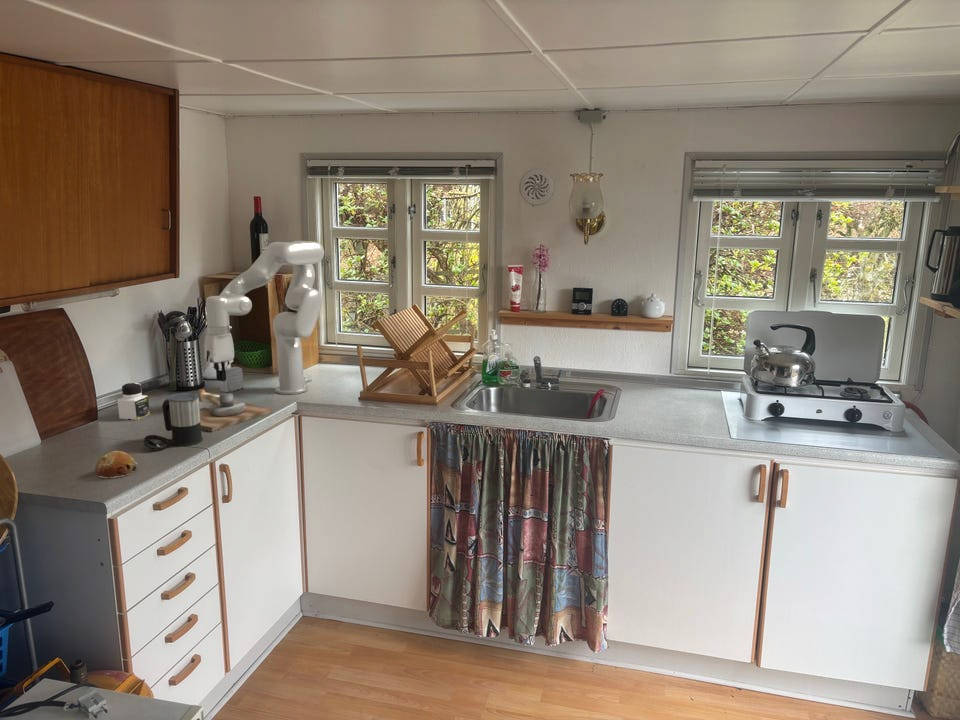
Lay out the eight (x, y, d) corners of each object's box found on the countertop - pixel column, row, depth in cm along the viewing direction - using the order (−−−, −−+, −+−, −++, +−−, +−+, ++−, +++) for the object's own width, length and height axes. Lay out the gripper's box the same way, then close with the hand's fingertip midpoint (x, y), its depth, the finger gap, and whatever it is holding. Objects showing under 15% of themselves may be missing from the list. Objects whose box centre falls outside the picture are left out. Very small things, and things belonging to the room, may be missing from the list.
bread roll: (123, 477, 209) (110, 452, 209) (148, 466, 206) (135, 440, 205) (96, 490, 200) (83, 464, 200) (122, 478, 197) (108, 452, 196)
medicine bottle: (137, 420, 252) (133, 386, 249) (119, 419, 253) (115, 385, 251) (150, 414, 259) (146, 381, 256) (132, 413, 260) (128, 381, 257)
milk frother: (209, 438, 233) (205, 393, 229) (179, 454, 217) (174, 406, 214) (170, 435, 235) (165, 391, 232) (137, 451, 220) (132, 404, 217)
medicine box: (237, 387, 296) (235, 366, 294) (244, 388, 294) (242, 367, 292) (220, 391, 290) (218, 370, 288) (227, 392, 288) (225, 371, 286)
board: (229, 404, 271) (229, 399, 271) (271, 412, 260) (271, 407, 260) (168, 422, 250) (168, 417, 249) (211, 431, 238) (211, 426, 238)
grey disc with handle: (252, 409, 258) (251, 393, 256) (225, 418, 248) (223, 401, 246) (214, 401, 268) (213, 386, 266) (186, 409, 258) (185, 393, 256)
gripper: (228, 327, 269) (230, 375, 273) (194, 332, 257) (197, 382, 260) (242, 329, 266) (244, 378, 269) (208, 334, 253) (211, 385, 256)
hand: (221, 380), depth 265 cm, fingers closed
